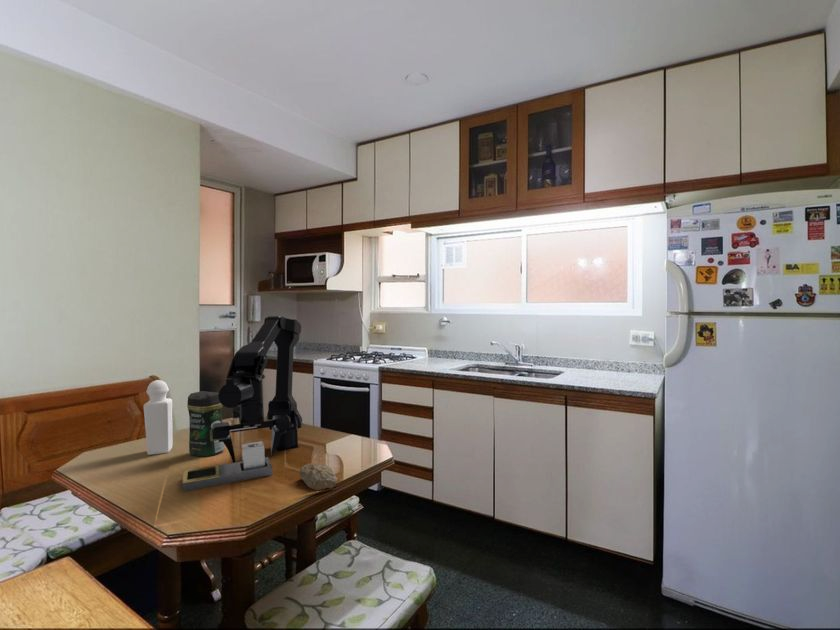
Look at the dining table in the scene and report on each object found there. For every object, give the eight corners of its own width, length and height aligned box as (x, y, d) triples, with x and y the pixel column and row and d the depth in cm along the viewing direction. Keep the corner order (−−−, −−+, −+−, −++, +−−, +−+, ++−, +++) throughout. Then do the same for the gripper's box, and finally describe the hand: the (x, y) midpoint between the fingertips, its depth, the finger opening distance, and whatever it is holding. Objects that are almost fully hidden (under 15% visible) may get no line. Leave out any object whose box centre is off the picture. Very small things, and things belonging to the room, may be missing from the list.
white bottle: (174, 446, 139) (171, 377, 138) (169, 453, 132) (166, 380, 132) (151, 449, 136) (148, 379, 136) (145, 456, 130) (142, 382, 130)
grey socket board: (268, 465, 118) (267, 456, 118) (272, 476, 110) (272, 466, 110) (184, 480, 110) (184, 470, 109) (182, 493, 101) (182, 482, 101)
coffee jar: (184, 455, 129) (181, 393, 129) (206, 447, 137) (204, 388, 136) (207, 459, 125) (204, 395, 125) (229, 450, 133) (227, 389, 132)
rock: (313, 496, 98) (312, 477, 98) (294, 481, 107) (294, 463, 107) (344, 487, 103) (343, 468, 103) (323, 473, 112) (323, 456, 112)
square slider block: (263, 467, 116) (262, 441, 116) (265, 473, 111) (264, 446, 111) (242, 470, 114) (241, 444, 114) (244, 477, 109) (243, 449, 109)
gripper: (283, 390, 124) (285, 444, 124) (210, 398, 115) (213, 456, 116) (290, 396, 114) (292, 456, 114) (211, 405, 105) (213, 470, 106)
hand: (253, 459), depth 112 cm, fingers open, 9 cm apart
